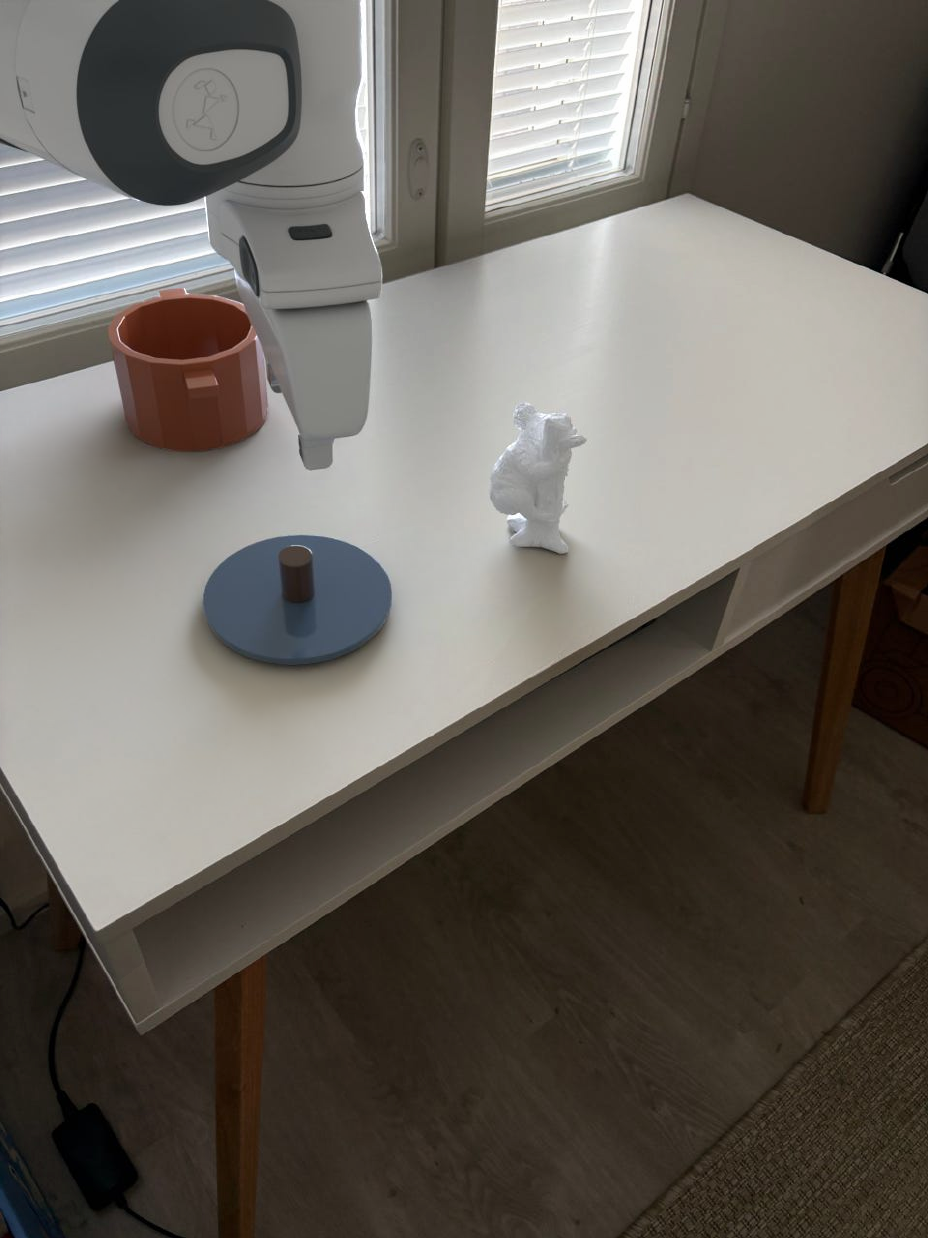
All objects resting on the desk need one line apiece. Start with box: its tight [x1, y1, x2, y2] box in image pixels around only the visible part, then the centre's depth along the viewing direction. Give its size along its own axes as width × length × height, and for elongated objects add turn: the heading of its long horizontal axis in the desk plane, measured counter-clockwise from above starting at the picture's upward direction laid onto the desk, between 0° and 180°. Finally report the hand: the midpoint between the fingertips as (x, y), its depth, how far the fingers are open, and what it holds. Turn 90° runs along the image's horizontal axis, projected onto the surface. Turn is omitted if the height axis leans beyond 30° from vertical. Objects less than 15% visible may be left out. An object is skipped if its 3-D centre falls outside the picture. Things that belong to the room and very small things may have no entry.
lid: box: [202, 534, 393, 666], centre depth 73 cm, size 14×14×5 cm
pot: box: [107, 287, 269, 452], centre depth 90 cm, size 13×18×8 cm
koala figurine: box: [488, 402, 588, 555], centre depth 78 cm, size 8×7×12 cm
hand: (298, 423), depth 66 cm, fingers open, 8 cm apart
